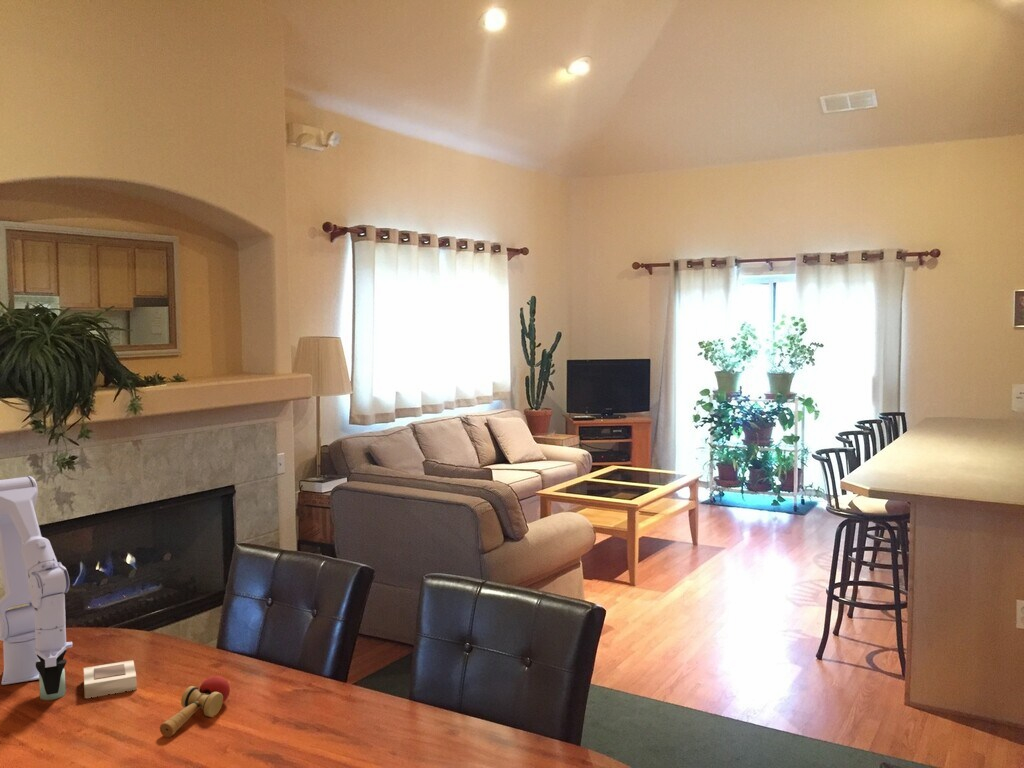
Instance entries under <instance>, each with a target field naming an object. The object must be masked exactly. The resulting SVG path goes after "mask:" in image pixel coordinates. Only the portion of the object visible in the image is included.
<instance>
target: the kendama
mask: <svg viewBox="0 0 1024 768" xmlns="http://www.w3.org/2000/svg"><path fill="white" fill-rule="evenodd" d="M230 689H231V687H230V684H229V681H227V679H226V678H224V677H222V676H220V675H212V676H209V677H208V678H206V679H204V680H203V681H202V683H201V685H200V686H199V688H198V687H197V686H194V685H190V686H188V687H187V688H186V689H185V690H184V692H183V693H182V695H181V696H182V697H181V699H180V701H181V702H180V703H181V704H180V705H181V707H182V708H183V709H181V710H180V711H178V712H176V713H175V714H174V715H173V716H171V717H170V718H169V719H167V720H165V721H164V722H162V723H161V724H160V725H159V730H160V731H159V732H160V733H161V735H162V736H163V737H165V738H171V737H172V736H173V735H174V734H175V733H177V731H179V729H180V728H182V726H183V725H184V724H185V723H186V722H187V721H188V720H189V719H190V718H191V717H192V716H193V715H194V714H195V712H197V710H198V709H199V708H200V709H202V711H203V714H204V715H205V716H206V717H209V718H214V717H215V716H217V714H219V712H220V710H221V709H222V706H223V704H224V703H225V702H226V701H227V699H228V697H229V695H230V691H231V690H230ZM214 715H215V716H214Z"/></svg>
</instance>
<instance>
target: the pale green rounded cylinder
mask: <svg viewBox="0 0 1024 768" xmlns="http://www.w3.org/2000/svg"><path fill="white" fill-rule="evenodd" d="M38 681H39V698H40V700H43V701H53V700H56V699H57V700H58V699H59V698H63V697H64V696H65V695H66V694H65V693H66V670H65V668H63V671H62V674H61V679H60V686H59V691H58V693H55V694H49V695H47V694H46V691H45V688H44V683H43V680H42V677H41V675H40V673H39V679H38Z"/></svg>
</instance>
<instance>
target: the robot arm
mask: <svg viewBox="0 0 1024 768" xmlns="http://www.w3.org/2000/svg"><path fill="white" fill-rule="evenodd" d="M38 495H39V487H38V484H37V481H36V479H35V478H34V477H33V476H32V475H26V476H24V477H14V478H6V479H0V570H1V576H2V581H3V589H4V596H3V597H2V598H0V641H2V643H3V644H2V647H3V673H2V678H1V685H2V686H4V685H5V686H6V685H10V684H17V683H23V682H29V681H36V680H37V681H38V680H39V673H40V675H41V677H42V680H43V683H44V688H45V691H46V694H47V695H49V694H55V693H58V691H59V686H60V679H61V674H62V671H63V669H65V666H66V664H67V658H65V659H64V657H65V656H66V653H67V649H70V648H73V641H67V632H66V631H67V628H66V627H67V625H66V624H67V623H66V622H67V621H66V620H67V619H66V595H65V594H66V593H68V592H69V590H70V585H71V584H70V583H71V582H70V581H71V580H70V576H69V572H68V570H67V568H66V566H64V565H63V564H62V562H61V561H59V562H58V558H57V556H56V555H55V552H54V549H53V547H52V544H51V541H50V540H49V539H48V538H47V537H43V535H42V533H41V529H40V526H39V522H38V518H37V514H36V510H35V506H36V504H37V502H38V501H37V500H38ZM27 604H29V605H27ZM22 605H25V606H22ZM17 606H18V607H17ZM19 606H21V607H19ZM14 607H15V608H14ZM9 608H10V609H9ZM11 608H12V609H11Z"/></svg>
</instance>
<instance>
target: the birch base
mask: <svg viewBox="0 0 1024 768" xmlns="http://www.w3.org/2000/svg"><path fill="white" fill-rule="evenodd" d="M137 680H138V679H137V673H136V666H135V661H134V659H132V660H131V659H130V660H125V661H119V662H112V663H105V664H98V665H94V666H87V667H83V688H84V689H83V690H84V699H85V698H86V699H92V698H97V696H98V697H103V696H109V695H108V694H110V695H114V694H115V693H116V694H122V693H126V692H125V691H127V692H131V691H132V690H133V691H136V690H138V687H137V686H138V684H137V683H138V681H137ZM91 697H92V698H91Z"/></svg>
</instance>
